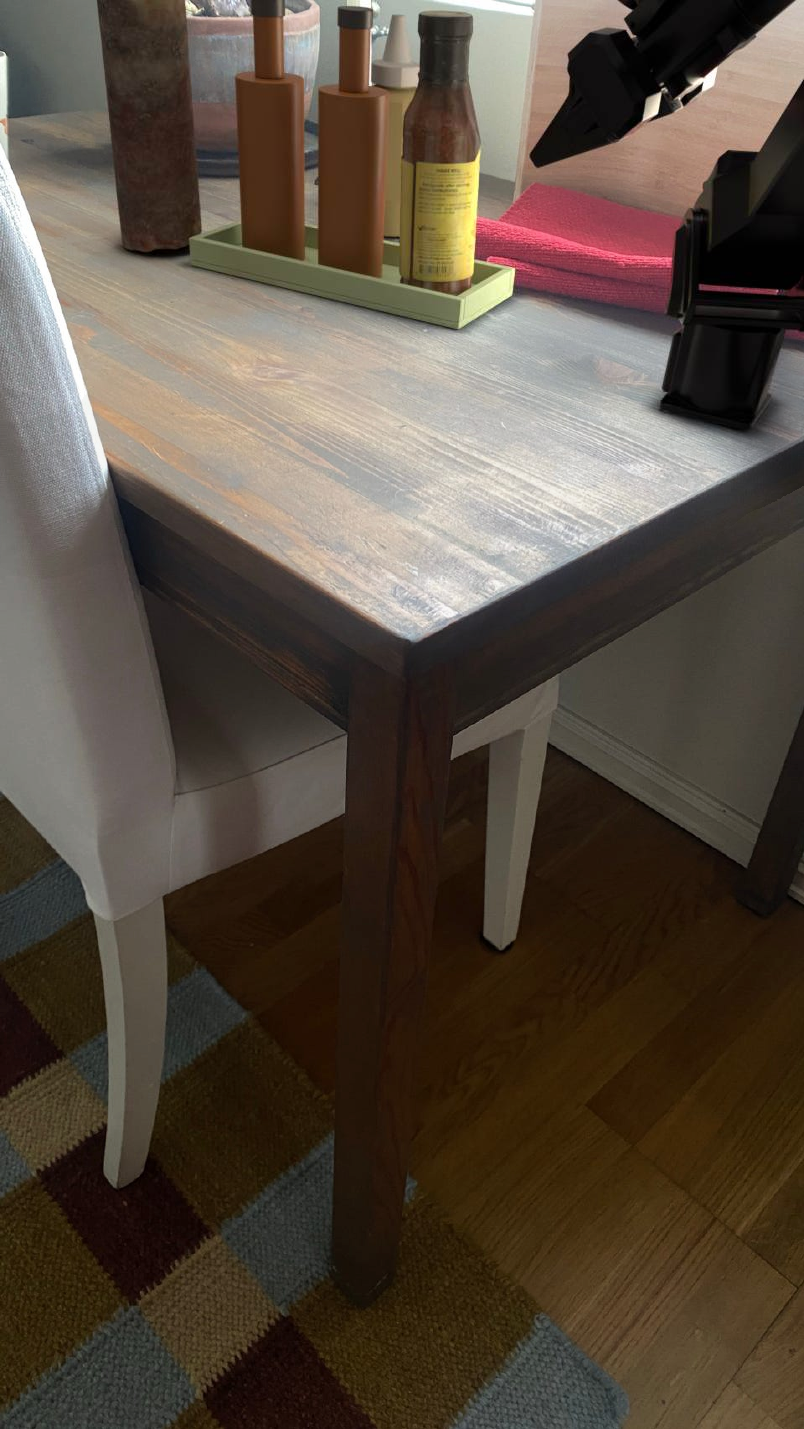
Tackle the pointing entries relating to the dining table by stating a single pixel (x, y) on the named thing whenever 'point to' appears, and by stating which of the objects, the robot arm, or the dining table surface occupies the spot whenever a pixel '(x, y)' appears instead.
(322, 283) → the bottle tray
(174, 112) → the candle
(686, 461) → the dining table surface
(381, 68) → the squeeze bottle
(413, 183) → the sauce bottle
